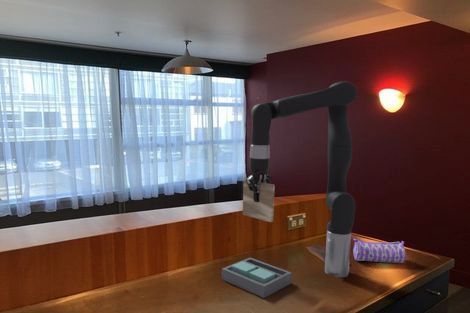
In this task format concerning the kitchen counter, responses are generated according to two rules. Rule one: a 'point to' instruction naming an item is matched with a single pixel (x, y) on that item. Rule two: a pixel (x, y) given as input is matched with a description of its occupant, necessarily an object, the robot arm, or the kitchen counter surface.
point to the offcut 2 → (261, 275)
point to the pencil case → (379, 251)
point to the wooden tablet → (319, 252)
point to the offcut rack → (253, 286)
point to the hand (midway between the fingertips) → (258, 201)
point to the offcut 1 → (243, 268)
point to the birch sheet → (265, 204)
